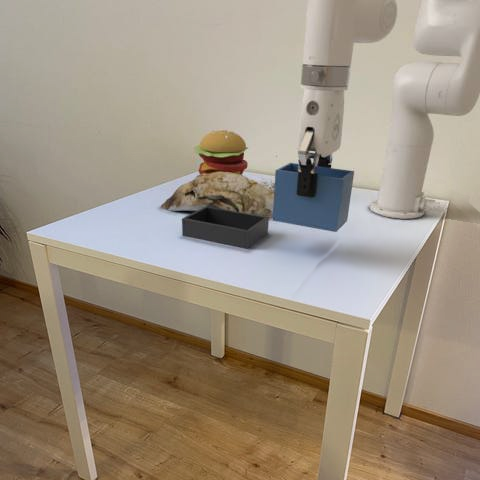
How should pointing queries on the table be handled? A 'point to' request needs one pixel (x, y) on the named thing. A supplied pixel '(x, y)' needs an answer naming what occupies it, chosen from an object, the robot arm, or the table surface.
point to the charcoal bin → (225, 227)
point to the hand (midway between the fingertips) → (313, 190)
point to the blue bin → (317, 208)
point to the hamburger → (222, 152)
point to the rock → (223, 195)
